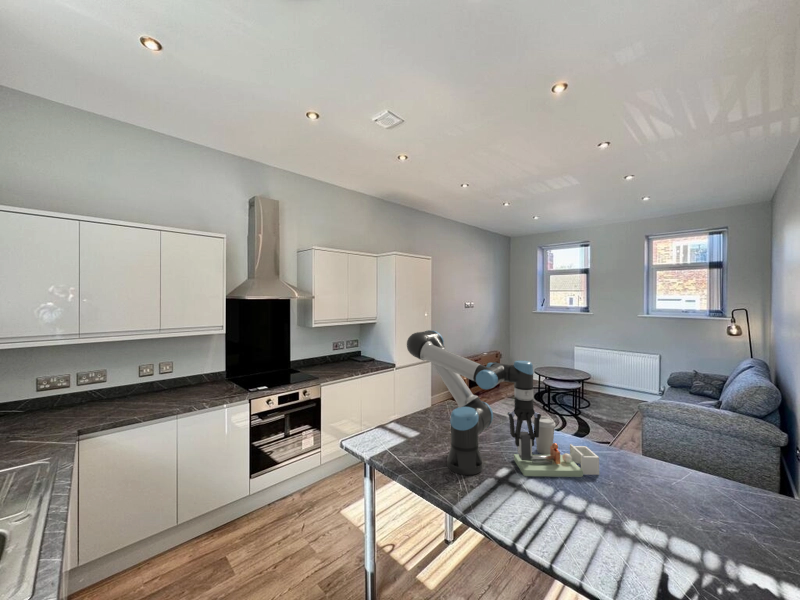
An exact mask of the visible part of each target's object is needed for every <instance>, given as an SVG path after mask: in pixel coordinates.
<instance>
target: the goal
mask: <svg viewBox="0 0 800 600" xmlns="http://www.w3.org/2000/svg"><path fill="white" fill-rule="evenodd" d="M569 454H570V455H571V457H572V460H573V461H574V462H575V463H576V464H580V468H581V469H582V470H583V476H584V475H586V476H587V475H588V476H589V475H590V476H594V475H595V476H600V457H599V456H598V455H597V454H596V453H595V452H594V451H592V450H591V449H590V448H589V447H587V446H586V445H585V446H584V445H581V446H580V445H579V446H578V445H577V446H575V445H573V443H570V444H569Z"/></svg>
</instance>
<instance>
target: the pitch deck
mask: <svg viewBox="0 0 800 600" xmlns="http://www.w3.org/2000/svg"><path fill="white" fill-rule="evenodd" d="M531 456H550V455H544V454H535V453H534V454H533V453H532V455H531ZM562 456H563V454H560V464H556V463H555V462H554V461H552V464H532V461H548V460H531V461H526V460H521V458H520V457H519V453H516V454H515V453H514V454H513V461H514V462H515V464H516V465H517V467H518V468H519V470H520V472H521V473H522V475H523V477H553V478H554V477H558V478H559V477H561V478H563V477H564V478H567V477H568V478H569V477H570V478H581V477H582V478H583V477H584V475H583V470H582V469H581V466H579V465H577V464H578V463H575V462H574V461H573V460H572V461H571V462H570V463H566V462H565V461H564V460H563V458H562Z"/></svg>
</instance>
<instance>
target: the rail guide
mask: <svg viewBox="0 0 800 600" xmlns="http://www.w3.org/2000/svg"><path fill="white" fill-rule="evenodd" d="M532 464H552V461H532Z"/></svg>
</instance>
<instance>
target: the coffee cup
mask: <svg viewBox="0 0 800 600" xmlns="http://www.w3.org/2000/svg"><path fill="white" fill-rule="evenodd" d="M532 423H533V424H534V420H533V421H532ZM556 425H557V424H556V422H555V421H554V419H553V418H551V417H548V416H542V415H541V417H540V420H539V437H538V438H537V437H536V438H535V443H536V444H535V445H536V450H537V451H536V452H537V453H539V454H540V455H550V446H552V444H553V443H554V436H555V428H556Z"/></svg>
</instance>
